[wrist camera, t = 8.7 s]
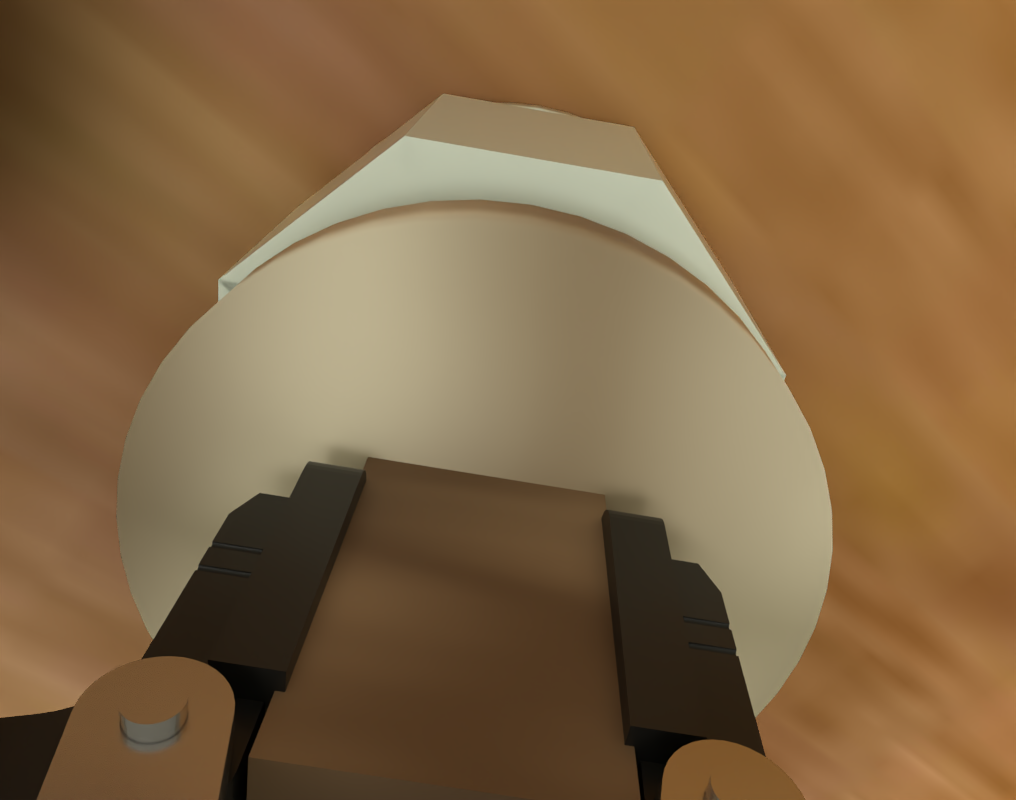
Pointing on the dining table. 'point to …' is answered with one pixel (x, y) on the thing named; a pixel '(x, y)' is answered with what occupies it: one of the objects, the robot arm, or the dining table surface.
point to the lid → (478, 490)
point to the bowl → (512, 183)
